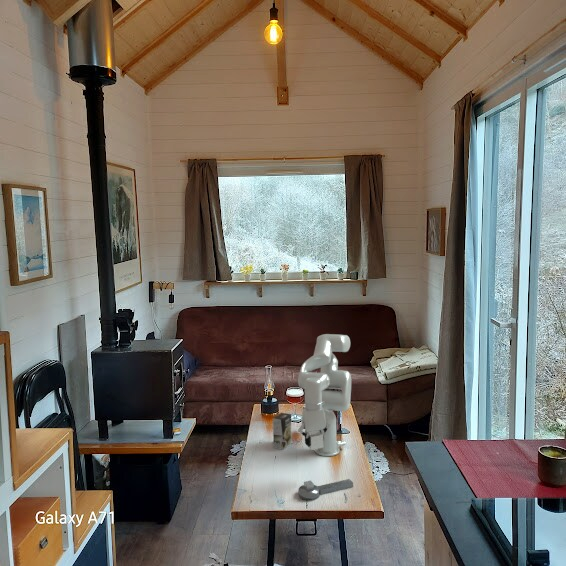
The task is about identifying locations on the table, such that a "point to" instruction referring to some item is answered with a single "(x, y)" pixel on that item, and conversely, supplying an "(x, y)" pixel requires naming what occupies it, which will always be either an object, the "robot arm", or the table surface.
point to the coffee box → (282, 431)
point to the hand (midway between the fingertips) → (314, 443)
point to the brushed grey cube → (316, 440)
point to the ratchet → (321, 489)
